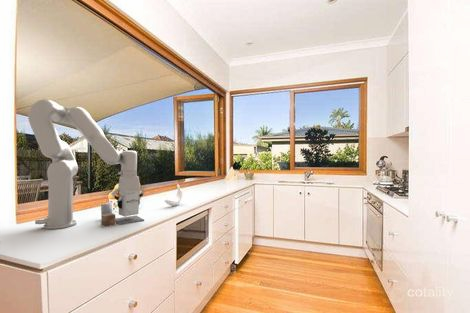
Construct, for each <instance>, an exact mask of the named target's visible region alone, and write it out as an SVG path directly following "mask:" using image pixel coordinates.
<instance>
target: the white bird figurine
mask: <svg viewBox="0 0 470 313" xmlns="http://www.w3.org/2000/svg"><path fill="white" fill-rule="evenodd" d="M176 188H177V193H176V196H175V198H174V199H172V198H169V199H168V198H167V199H165V200H164V202H165V203H166V205H169V206H173V207H175V206H177V205H179V204H180V203H181V201H182V199H183V190H182V188H181V186H180V184H179V183H177V184H176Z"/></svg>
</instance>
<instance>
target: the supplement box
mask: <svg viewBox="0 0 470 313" xmlns="http://www.w3.org/2000/svg"><path fill="white" fill-rule="evenodd" d="M121 201H122V208H121V209H120V208H119V207H118V215H119V216H122V217H129V216H136V215H139V211H140V210H139V209H140V208H139V205H140V204H139V191H127V192H125V193H124V196H123V197H122V199H121Z"/></svg>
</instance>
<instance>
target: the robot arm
mask: <svg viewBox="0 0 470 313" xmlns="http://www.w3.org/2000/svg"><path fill="white" fill-rule="evenodd" d="M27 116H28V118H27V119H28V122H29V126H30V128H31V129H32V133H33V135H34V137H35V139H36V142H37V144H38V147H39V149H40V151H41V154H42V155H43V156H44V157H46V158H49V159H51V160H52V162H51V163H50V164H49V165H48V168H47V172H46V173H47V174H46V175H47V182H48V197H47V199H48V201H47V202H48V208H47V210H48V211H47V216H46V217H44V219H35V221H34V224H35V225H42V224H43V228H44V229H46V230H57V229H63V228H70V227H73V226H75V225H76V224H77V220H75V219H73V218H74V217H73V215H74V214H73V213H74V180H73V177H74V176H76V175H77V173H78V171H79V165H78V162H77V161H76V158H75V156H74V154H73V151H72V148H71V146H70V145H69V144H68V143H67V142H66V141H64V140H61V138H60V136H59V134H58V131H57V129H56V126H55V124H54V123H53V122H56V123H62V124H68V125H72V126H74V127H75V128H76V129H77V130H78V132H79V133H80V134H81V136H82V137H83V138H84V139H85V140H86V141H87V143H88V144H89V145H90V146H91V148H92V149H93V150H94V151H95V153H97V155H98V157H100V159H102V161H103V162H104V163H106V164H108V165H110V166H113V165H118V164H120V166H121V167H120V171H118V175H120V176H119V181H118V185H117V188H116V189H115V190H114V191H112V192H111V195H112V197H113V198H114V199H115V200H117V207H118V209H119V208H120V209H121V208H122V201H121V199H122V197H123V196H124V193H125V192H127V191H139V205H140V203H141V200H140V199H141V198H142V197H143V196H144V194H145V192H146V190H145V189H143V188H141V184H140V177H139V176H138V170H137V169H138V152H137V151H136V150H117V149H116V148H115V147H114V146H113V144H112V143H111V142H110V141H109V140H108V139H107V137H106V136H105V133H104V131H103V129H102V128H101V127H100V126H99V125H98V124H97V123H96V121H95V120H94V118H92V116H91V115H90V112H88V111H87V110H86V109H85V108H83V107H81V106H80V107H79V106H73V107H68V106H64V105H60V104H59V103H57V102H55V101H54V100H51V99H40V100H39V99H38V100H37V101H35V102H34V103H33V104H32V105H31V106H30V108H29V110H28V114H27ZM116 194H117V195H116Z"/></svg>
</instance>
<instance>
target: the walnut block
mask: <svg viewBox="0 0 470 313" xmlns="http://www.w3.org/2000/svg"><path fill="white" fill-rule="evenodd" d="M100 216H101V215H100ZM115 218H116V214H115V213H113V212H112V213H108V214H102V216H101V223H100V224H101V225H102V227H104V226H105V227H110V225H111V226H115V225H116V222H115Z"/></svg>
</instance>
